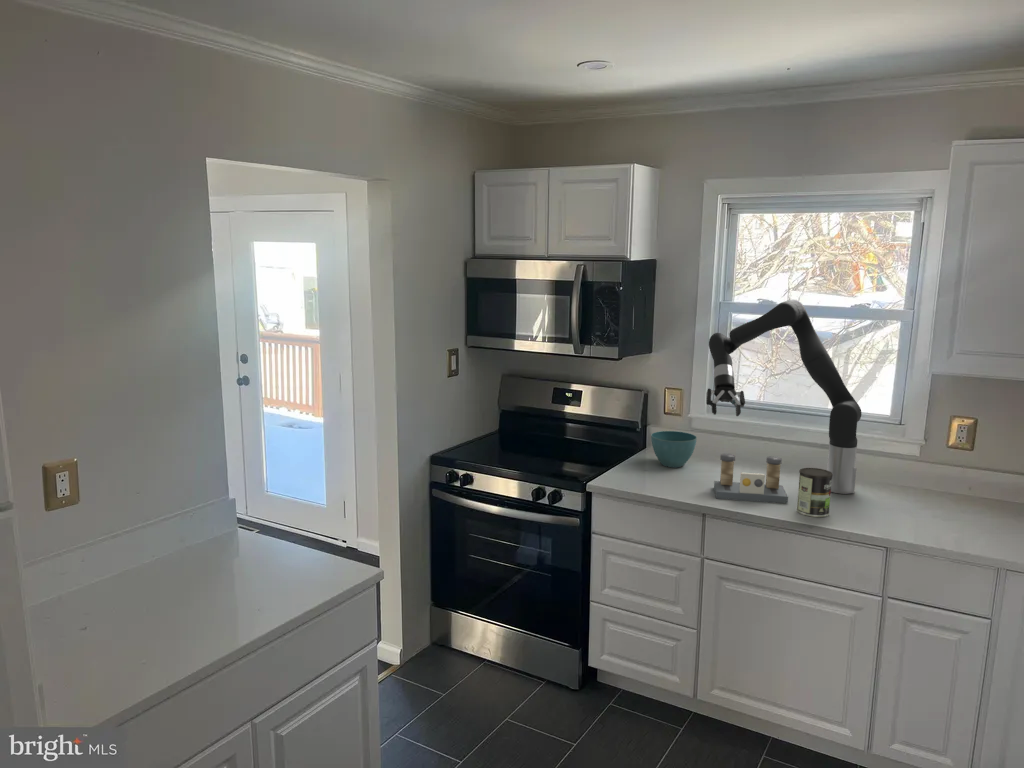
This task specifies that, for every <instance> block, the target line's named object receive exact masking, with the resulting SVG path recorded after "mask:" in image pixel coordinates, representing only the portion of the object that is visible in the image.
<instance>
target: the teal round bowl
mask: <svg viewBox="0 0 1024 768" xmlns="http://www.w3.org/2000/svg"><path fill="white" fill-rule="evenodd" d="M697 438H698V437H697V435H694V434H692V433H689V432H684V431H676V430H675V431H674V430H662V431H655V432H653V433H651V434H650V439H651V446H652V449H653V452H654V454H655V457H656V458H657V459H658V461H659V462H660V464H661V465H663V466H664V467H667V466H668V468H681V466H682V467H684V465H686V463H687V462H688V461H689V459H690V458H691V457H692V455H693V453H694V450H695V447H696V445H697V440H698V439H697Z"/></svg>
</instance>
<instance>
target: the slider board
mask: <svg viewBox="0 0 1024 768" xmlns="http://www.w3.org/2000/svg"><path fill="white" fill-rule="evenodd" d="M739 481H740V482H737V481H736V482H735V481H733V484H732V485H721V483H720V481H719V480H714V482H713V483H714V485H713V489H715V490H714V494H716V495H715V499H720V500H733V501H734V500H735V501H746V502H747V501H749V502H759V503H772V502H777V503H776V504H786V503H788V501H789V499H788V498H789V496H788V494H787V492H786V489H785V488H784V485H780V484H779V489H775V488H767V487H766V473H758V472H757V473H754V472H753V473H752V472H743V471H742V472H740V480H739Z"/></svg>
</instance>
